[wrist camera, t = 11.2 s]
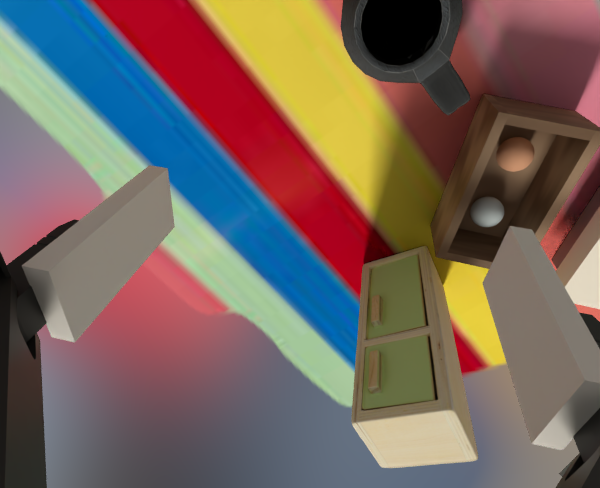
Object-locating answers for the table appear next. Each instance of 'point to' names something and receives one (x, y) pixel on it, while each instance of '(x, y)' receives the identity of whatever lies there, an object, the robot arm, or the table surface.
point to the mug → (407, 44)
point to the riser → (577, 229)
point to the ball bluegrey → (487, 211)
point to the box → (511, 176)
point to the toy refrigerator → (409, 367)
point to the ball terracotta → (515, 154)
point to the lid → (584, 266)
